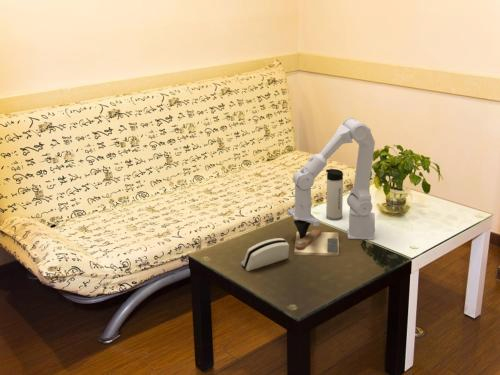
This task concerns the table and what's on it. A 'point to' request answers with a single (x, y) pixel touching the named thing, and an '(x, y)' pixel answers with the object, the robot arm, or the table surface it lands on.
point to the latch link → (307, 239)
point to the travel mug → (334, 194)
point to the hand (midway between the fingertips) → (302, 238)
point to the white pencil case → (266, 253)
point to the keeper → (332, 245)
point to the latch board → (318, 245)
